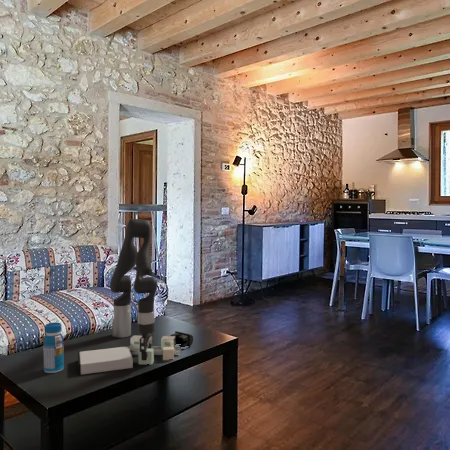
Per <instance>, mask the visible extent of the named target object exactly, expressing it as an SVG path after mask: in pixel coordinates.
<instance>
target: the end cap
mask: <svg viewBox="0 0 450 450" xmlns="http://www.w3.org/2000/svg"><path fill="white" fill-rule="evenodd" d="M169 336H175V345H176V344H181V345H179V346H180V347H185V346H190V347H191V346H192V345H193V343H194V336H193V334H190V333H185V332H182V331H175V332H174V333H172V334H170V335H169Z"/></svg>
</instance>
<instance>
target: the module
mask: <svg viewBox="0 0 450 450" xmlns="http://www.w3.org/2000/svg"><path fill="white" fill-rule="evenodd" d="M143 349H144V348H143ZM137 356H138V357H137V358H138V365H147V364H149V365H151V366H152V365H153V364H154V361H155V356H154V349H150V348H147V360H142V355H141V352H140V350H139V351H138V355H137Z"/></svg>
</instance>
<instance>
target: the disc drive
mask: <svg viewBox="0 0 450 450" xmlns="http://www.w3.org/2000/svg"><path fill="white" fill-rule="evenodd" d="M128 348H129V345H128V346H120V347H118V346H117V347H111V348H110V347H109V348H101V349H95V350H94V349H93V350H85V351H79V350H78V351H77V352H78V353H77V361H78V362H77V363H78V375H79V376H81V375H88V374H94V373H95V374H96V373H102V372H109V371H110V372H111V371H118V370H124V369H133V367H134V366H133V365H134V364H133V361H134V360H133V355H131V353H130V351H129V349H128Z"/></svg>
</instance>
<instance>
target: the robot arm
mask: <svg viewBox="0 0 450 450" xmlns="http://www.w3.org/2000/svg"><path fill="white" fill-rule="evenodd" d="M151 229H152V226H151V223H150V221H149V220H147V219H142V218H141V219H140V218H130V219H129V220H128V222H127V225H126V229H125V234H124V239H123V244H122V246H121V250H120V252H119V256H118V258H117V263H116V267H115V270H114V271H113V274H112V276H111V278H110V283H109V288H110V291H111V292H112V293H113V294H118V293H119V294H120V293H122V294H121V295H119V296H118V297H116V298H114V300H113V318H112V324H111V325H112V337H114V338H128V337H130V336H131V335H132V313H131V312H132V311H131V310H132V309H131V303H132V302H131V300H132V277H131V276H130V275H128V274H127V273H129V272H130V271H131V270H132V269H133V268H134V267H135V269H136V271H135V273H136V274H135V278H134V282H133V291H134V292H135V293H136V294H139V295H140V294H148V295H147V296H144V297H141V298H139V299H138V301H137V310H138V311H137V332H138V334H141V336H142V337H141V338H140V352H141V355H142V360H147V348H150V349H151V346H153V343H154V338H153V337H154V336H153V335H154V332H155V331H156V330H155V329H156V328H155V320H156V319H155V303H154V302H155V297H156V292H157V289H158V280H157V278H155V277H153V276H149V275H151V274H152V272H153V268H152V260H151V259H152V258H151V240H152V239H151V238H152V237H151V236H152V234H151V233H152V230H151ZM134 238H135V239H143V243H142V245H141V247H140V249H139V250H137V248H136V246H135V244H134V241H133V239H134ZM148 276H149V277H148ZM143 347H144V349H143Z"/></svg>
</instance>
